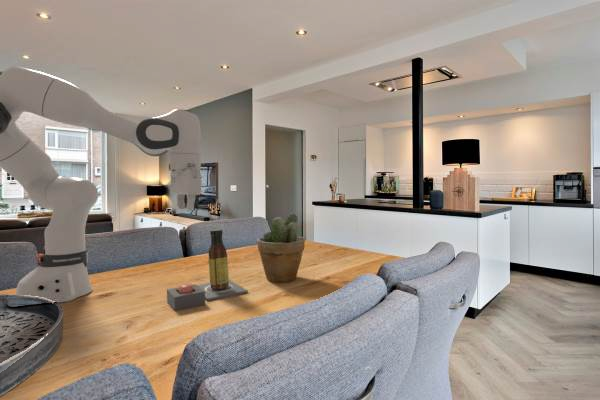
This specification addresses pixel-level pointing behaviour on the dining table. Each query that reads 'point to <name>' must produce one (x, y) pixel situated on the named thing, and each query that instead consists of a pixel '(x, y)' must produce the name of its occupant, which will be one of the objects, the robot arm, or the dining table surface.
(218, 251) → the sauce bottle
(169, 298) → the button housing
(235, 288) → the grey square plate
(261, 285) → the dining table surface
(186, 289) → the button
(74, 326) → the dining table surface
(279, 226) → the potted plant
